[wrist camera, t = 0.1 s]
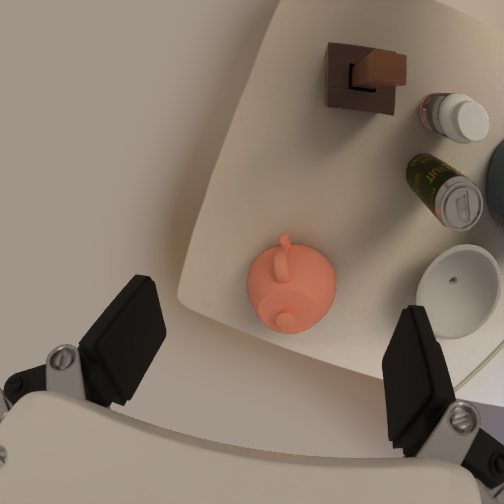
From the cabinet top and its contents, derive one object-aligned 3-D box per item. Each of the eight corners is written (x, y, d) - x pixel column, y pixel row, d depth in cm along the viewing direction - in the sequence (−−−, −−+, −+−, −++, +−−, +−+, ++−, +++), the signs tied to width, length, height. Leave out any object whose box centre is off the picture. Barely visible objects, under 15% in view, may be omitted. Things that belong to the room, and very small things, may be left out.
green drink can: (445, 184, 32) (488, 222, 22) (412, 198, 34) (445, 242, 24) (433, 146, 30) (478, 171, 20) (398, 161, 32) (431, 191, 22)
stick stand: (325, 52, 28) (328, 42, 22) (381, 60, 26) (396, 52, 20) (324, 105, 31) (327, 106, 25) (379, 111, 30) (394, 115, 24)
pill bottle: (459, 103, 26) (500, 110, 18) (449, 141, 29) (486, 158, 21) (423, 85, 27) (458, 84, 18) (413, 124, 29) (445, 135, 21)
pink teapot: (259, 308, 47) (246, 355, 39) (241, 228, 41) (220, 268, 32) (337, 304, 44) (338, 354, 35) (331, 220, 38) (335, 260, 29)
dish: (390, 258, 39) (398, 278, 34) (472, 209, 32) (488, 224, 28) (428, 332, 43) (434, 353, 39) (495, 293, 37) (507, 311, 33)
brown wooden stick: (345, 72, 28) (374, 48, 13) (361, 74, 28) (406, 55, 13) (344, 88, 29) (374, 79, 14) (361, 90, 29) (406, 85, 14)
